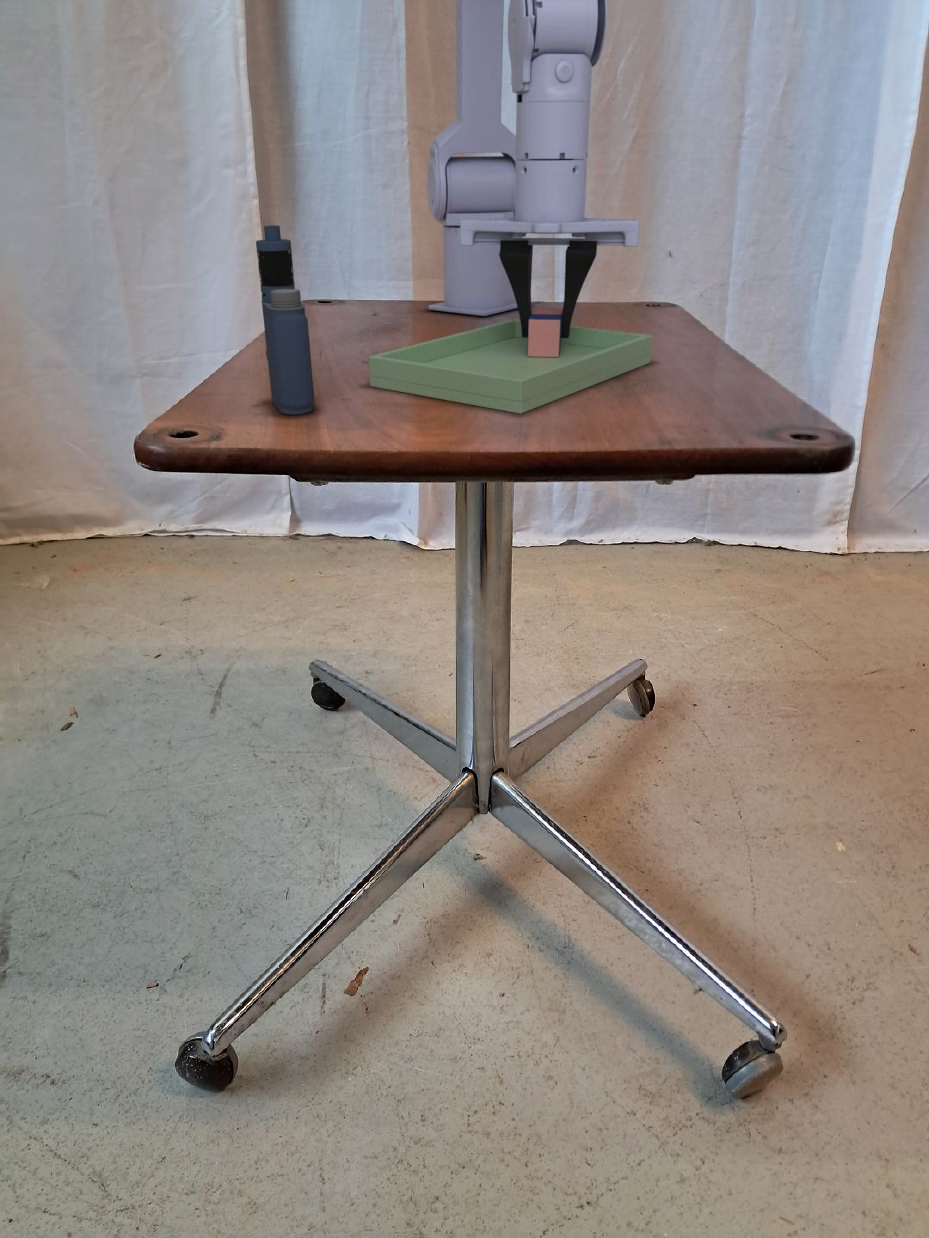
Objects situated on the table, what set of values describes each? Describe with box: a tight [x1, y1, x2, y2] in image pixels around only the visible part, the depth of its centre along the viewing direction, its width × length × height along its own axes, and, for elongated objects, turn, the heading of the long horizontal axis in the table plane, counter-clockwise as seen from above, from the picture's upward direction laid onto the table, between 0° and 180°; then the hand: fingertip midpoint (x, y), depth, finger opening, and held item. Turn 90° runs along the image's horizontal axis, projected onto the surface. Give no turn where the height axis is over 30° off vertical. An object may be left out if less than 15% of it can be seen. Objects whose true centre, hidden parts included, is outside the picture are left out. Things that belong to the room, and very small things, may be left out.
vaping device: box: [255, 224, 315, 416], centre depth 64 cm, size 3×5×12 cm, turn 21°
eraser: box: [527, 307, 563, 357], centre depth 79 cm, size 6×3×3 cm, turn 172°
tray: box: [368, 318, 653, 415], centre depth 75 cm, size 20×14×2 cm
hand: (545, 335), depth 79 cm, fingers closed on eraser, 3 cm apart
